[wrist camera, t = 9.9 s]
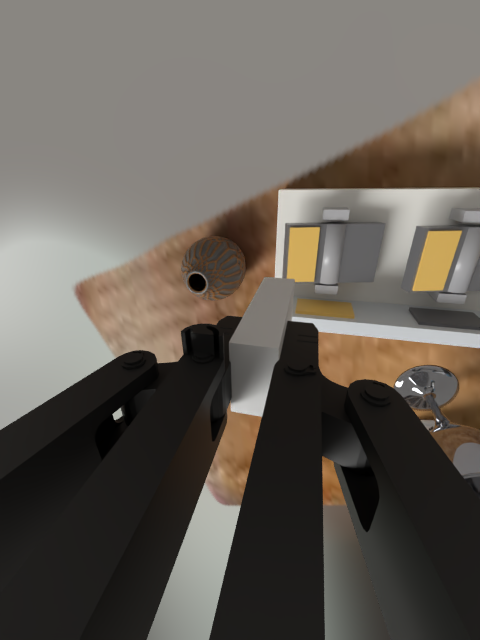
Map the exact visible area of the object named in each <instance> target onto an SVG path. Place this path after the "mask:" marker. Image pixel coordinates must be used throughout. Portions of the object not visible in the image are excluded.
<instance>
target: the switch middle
mask: <svg viewBox="0 0 480 640" xmlns="http://www.w3.org/2000/svg"><path fill="white" fill-rule="evenodd" d="M401 288H402V289H404V290H405V291H407V292H409V293H415V292H452V293H465V292H467V291H480V225H473V224H459V225H436V226H416V230H415V234H414V237H413V241H412V245H411V249H410V253H409V257H408V261H407V265H406V269H405V273H404V277H403V281H402V284H401Z"/></svg>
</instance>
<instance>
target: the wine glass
mask: <svg viewBox="0 0 480 640" xmlns="http://www.w3.org/2000/svg"><path fill="white" fill-rule="evenodd" d="M394 389H395V390H396V391H397V392H398V393H400V394H401V395H402V396H403V398H404V399H405V400H406V402H407V403H408V404H409V406H410V407H411V408H412V409H414V410H419V411H431V410H432V413H433V416H434V420H435V425H434V428H433V429H432V430H431V431H430V434H431V435H432V436H433V438H434V439H435V440H436V442H437V443H438V444H439V446H440V447H441V448H442V450H443V451H444V452H445V454H446V455H447V456H448V458H449V459H450V460H451V462H452V463H453V464H454V466H455V467H456V468H457V470H458V471H459V472H460V474H461V475H462V476H463V478H464V479H465V480H466V482H467V483H468V484H469V486H470V487H471V488H472V490H473V491H474V492H475V494H476V495H477V496H478V498H479V499H480V430H479V429H476V428H473V427H470V426H465V425H461V424H456V423H454V422H452V421H450V420H449V419H448V418H447V417H446V416H445V415H444V413H443V412H442V411H441V409H440V408H442V407H444V406H446V405H448V404H449V403H450V402H451V401H453V400H454V398H455V397H456V395H457V393H458V390H459V384H458V380H457V379H456V377H455V376H454V375H453V374H452V373H451V372H450V371H448V370H447V369H444V368H442V367H438V366H432V365H424V366H418V367H414V368H411V369H409V370H407V371H405V372H404V373H402V374H401V375H400V376H399V377H398V378H397V380H396V382H395V384H394Z"/></svg>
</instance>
